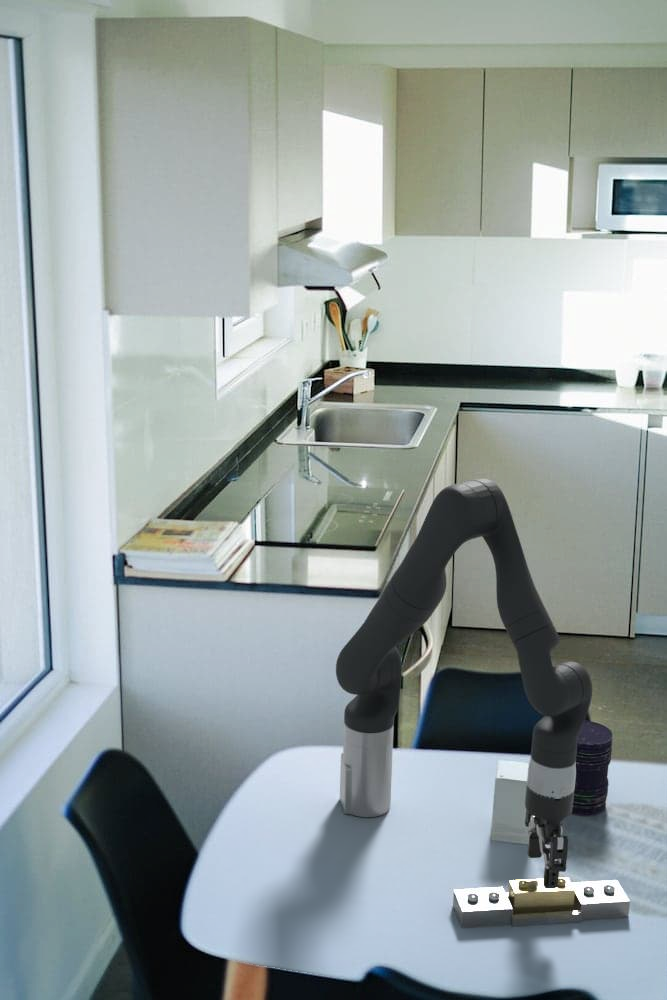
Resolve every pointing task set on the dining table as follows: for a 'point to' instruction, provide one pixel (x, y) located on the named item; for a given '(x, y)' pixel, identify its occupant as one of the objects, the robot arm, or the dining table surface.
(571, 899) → the link
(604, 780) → the dark purple cylinder
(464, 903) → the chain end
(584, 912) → the chain end
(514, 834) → the supplement box
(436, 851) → the dining table surface
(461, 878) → the dining table surface
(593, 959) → the dining table surface
